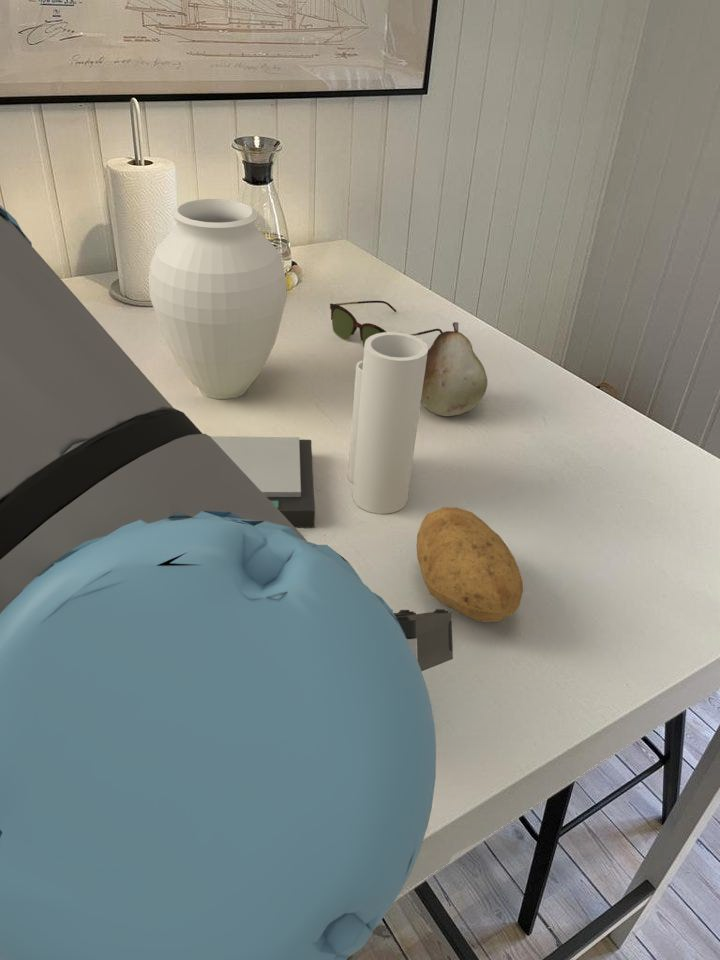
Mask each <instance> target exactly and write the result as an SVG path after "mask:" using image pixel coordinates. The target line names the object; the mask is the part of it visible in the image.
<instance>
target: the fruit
mask: <svg viewBox="0 0 720 960" xmlns="http://www.w3.org/2000/svg"><path fill="white" fill-rule="evenodd" d="M459 324H460V323H459V322H458V321H457V322H456V321H454V322H452V327H453V330H447V331H442V332H443V333H439V334H438V335H437V336H436V338H435V339H434V341H433V343H432V345H431V346H430V347H429V348H428V353H427V360H426V368H425V375H424V382H423V389H422V397H421V402H422V403H423V405H424V406H425V407H426V409H428V410H429V411H430V412H431V413H433V414H435V415H438V416H442V417H451V416H459V415H460V416H461V415H462V414H465V413H467V412H469V411H471V410H472V409H474V408H476V407H477V405H478V404H479V403H480V402H481V401H482V399H483V398H484V396H485V395H486V392H487V388H488V377H487V376H488V375H487V372H486V369H485V367H484V364H483V363H482V362H481V360H480V359H479V357H478V356H477V354H475V351H474V348H473V345H472V342H471V341H470V339H469V337H467V336H466V335H464V334H463V333H462V332H460V331H459Z"/></svg>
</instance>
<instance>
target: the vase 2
mask: <svg viewBox="0 0 720 960" xmlns="http://www.w3.org/2000/svg"><path fill="white" fill-rule="evenodd" d="M363 348H364V349H363V359H362V360H359V361H358V362H357V363H356V366H355V375H354V391H353V402H352V403H353V404H352V415H351V416H352V417H351V429H350V430H351V431H350V442H349V443H350V444H349V455H348V469H347V478H348V480H349V482H350V483H352V495H351V496H352V499H353V500H352V501H353V502H354V503H355V504H356V506H357V507H359V508H360V509H362V510H364V511H366V512H368V513H372V514H377V515H378V514H379V515H387V514H393V513H397V512H399V511H401V510H402V509H404V508H405V506H406V505H407V504H408V498H409V490H410V483H411V475H412V469H413V461H414V454H415V447H416V440H417V431H418V427H419V426H418V425H419V419H420V418H419V417H420V409H421V404H422V403H421V402H422V401H421V397H422V389H423V382H424V375H425V368H426V360H427V353H428V350H429V346H428V344H427V342H425V341H424V340H423V339H421V338H420V337H417V336H413V335H410V334H409V333H406V332H405V333H404V332H396V331H386V332H383V333H378V334H375V335H372V336H370V337H369V338H367V339H366V341H365V344H364V347H363Z"/></svg>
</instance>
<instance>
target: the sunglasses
mask: <svg viewBox="0 0 720 960" xmlns="http://www.w3.org/2000/svg"><path fill="white" fill-rule="evenodd" d="M361 304H385V305H387V306H388V307H389V308H390V309H391V310H392V311H393V312H394V313H397V310H396V308H394V307H393V306H392V305H391V304H390V303H388V302H387V301H384V300H362V301H350V302H339V303H337V302H336V303H329V309H330V320H331V323H332V330H333V332H334V333H335V335H336V336H337V337H338V338H340V339H341V340H345V341H346V340H349V339H350V338H351V337H352V336H353V335H355V333H356V331H357V330H358V329H359V336H360V341H361V343H362V346H363V348H364V344H365V341H366V339H367V338H369V337H370V336H372V335H375V334H378V333H383V332H387V331H386V330H385V329H384V328H382V327H380V326H379V325H376V324H374V323H369V322H367V323H359V322H358V320H357V318H356V317H355V316H354V315H353V313H351V312H350V311H349V309H347V308H345V307H343V306H346V305H347V306H348V305H361ZM434 332H439V334H441V333H443V332H444V331H443V330H442V329H440V328H433V329H429V330H424V331H420V332H417V333H410V334H409V335H413V336H415V337H417V336H420V335H425V334H429V333H434Z"/></svg>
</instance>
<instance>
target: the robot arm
mask: <svg viewBox="0 0 720 960" xmlns="http://www.w3.org/2000/svg"><path fill="white" fill-rule="evenodd" d="M452 614H453V613H452V611H449V610H446V609H442V608H441V609H439V608H438V609H435V610H434V611H432V612H430V611H429V612H422V613H417V612H415V611H412V610H411V611H410V609H399V611H397V612H394V611H393V609H392V608H391V607H390V606H389V605H388V603H387V602H386V601H385V599H383V597H382V596H380V595H378V594H377V593H376V592H373V590H371V588H369V586H367V585H366V584H365V583H364V582H363V581H362V579H361V577H360V576H359V574H358V573H357V572H356V570H355V569H354V568H353V566H352V564H351V563H350V562H349V561H348V560H347V559H346V558H344V557H343V556H342V555H341V554H339V553H338V552H337V551H336V550H334V549H333V548H332V547H331V546H329V545H328V544H316V543H314V542H310V541H308V540H307V539H306V538H305V537H304V536H303V535H302V533H300V531H299V530H298V528H297V527H294V526H293V525H292V524H291V523H290V522H289V521H288V520H287V518H286V517H285V516H284V515H283V514H282V513H281V512H280V511H279V510H278V509H277V508H276V507H275V506H274V505H273V503H272V502H271V501H270V500H269V499H268V498H267V497H266V496H265V495H264V494H263V493H262V492H261V491H260V489H259V488H258V487H257V486H256V485H255V484H254V483H253V482H252V481H251V480H250V479H249V478H248V477H247V475H246V474H245V473H244V472H243V471H242V470H241V469H240V468H239V467H238V466H237V465H236V464H235V463H234V461H233V460H232V459H231V458H230V457H229V456H228V455H227V454H226V453H225V452H224V451H223V450H222V449H221V448H220V446H219V445H218V444H217V443H216V442H215V441H214V440H213V439H212V438H211V437H210V435H208V434H207V433H203V432H202V431H201V430H200V429H199V428H198V426H196V424H195V423H194V422H193V421H192V420H191V419H190V418H189V417H188V416H187V415H186V413H185V412H183V411H181V410H179V409H177V408H175V407H173V405H172V404H171V403H170V402H169V401H168V400H167V398H165V397H164V395H163V394H162V393H161V392H160V391H159V389H158V388H157V387H156V386H155V385H154V384H153V383H152V382H151V381H150V379H149V378H148V377H147V376H146V375H145V373H143V371H142V370H141V369H140V368H139V367H138V366H137V365H136V363H135V362H134V361H133V360H132V359H131V358H130V357H129V355H128V354H127V353H126V351H124V350H123V348H122V347H121V346H120V345H119V344H118V343H117V342H116V340H115V339H114V338H113V337H112V335H111V334H109V332H108V331H107V330H106V329H105V328H104V326H103V325H102V324H101V323H100V322H99V321H98V320H97V319H96V317H94V316H93V314H92V313H91V312H90V310H88V308H87V307H86V306H85V305H84V304H83V303H82V302H81V300H80V299H79V298H78V297H77V296H76V295H75V294H74V292H72V290H71V289H70V288H69V286H67V284H66V283H65V282H64V281H63V280H62V279H61V277H60V276H59V275H58V274H57V273H56V272H55V271H54V270H53V269H52V267H51V266H50V265H49V264H48V263H47V261H46V260H45V259H44V258H43V257H42V256H41V255H40V254H39V253H38V251H37V250H36V249H35V248H34V247H33V243H32V241H31V240H30V239H29V238H28V236H27V235H26V234H25V233H24V231H23V229H22V228H21V227H20V225H19V223H18V221H17V219H16V218H14V217H13V216H12V215H11V213H9V212H8V211H7V210H6V209H5V208H4V207H3V206H2V205H1V204H0V960H347V959H348V958H350V957H351V956H352V955H354V954H356V953H357V952H358V951H360V950H361V949H362V948H364V947H365V945H366V943H367V941H368V940H369V938H370V936H371V935H372V933H373V932H374V931H375V929H376V928H377V926H378V925H379V924H380V923H381V921H382V920H383V919H384V917H386V915H387V914H388V912H389V911H390V910H391V907H392V906H393V905H394V903H395V901H396V900H397V898H398V897H399V895H400V894H401V893H402V891H403V889H404V887H405V885H406V883H407V881H408V879H409V877H410V875H411V873H412V871H413V868H414V866H415V864H416V861H417V858H418V857H419V854H420V851H421V848H422V845H423V842H424V838H425V835H426V832H427V830H428V825H429V821H430V817H431V812H432V808H433V801H434V793H435V786H436V776H437V775H436V774H437V773H436V771H437V738H436V726H435V725H436V724H435V719H434V718H435V717H434V713H433V712H434V711H433V708H432V707H433V706H432V702H431V698H430V694H429V690H428V687H427V684H426V679H425V677H424V674H423V672H424V671H427V670H430V669H432V668H434V667H437V666H439V665H442V664H444V663H447V662H449V661H452V660H454V652H453V651H454V644H453V642H454V641H453V616H452Z"/></svg>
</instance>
